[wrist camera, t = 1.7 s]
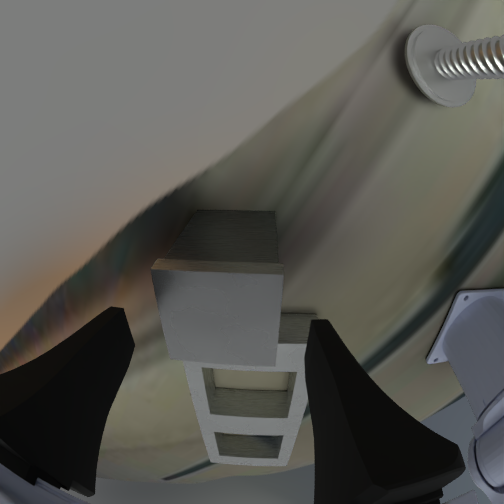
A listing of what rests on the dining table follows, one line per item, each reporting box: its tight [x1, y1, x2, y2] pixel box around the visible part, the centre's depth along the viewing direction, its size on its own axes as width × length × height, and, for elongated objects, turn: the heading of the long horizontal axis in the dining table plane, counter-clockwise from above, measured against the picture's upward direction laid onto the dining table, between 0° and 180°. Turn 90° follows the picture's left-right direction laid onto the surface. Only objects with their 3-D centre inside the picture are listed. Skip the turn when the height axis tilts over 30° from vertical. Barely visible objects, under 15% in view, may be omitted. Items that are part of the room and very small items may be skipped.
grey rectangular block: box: [151, 210, 284, 367], centre depth 14 cm, size 5×5×7 cm
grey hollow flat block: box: [183, 313, 317, 466], centre depth 23 cm, size 9×22×3 cm, turn 179°
